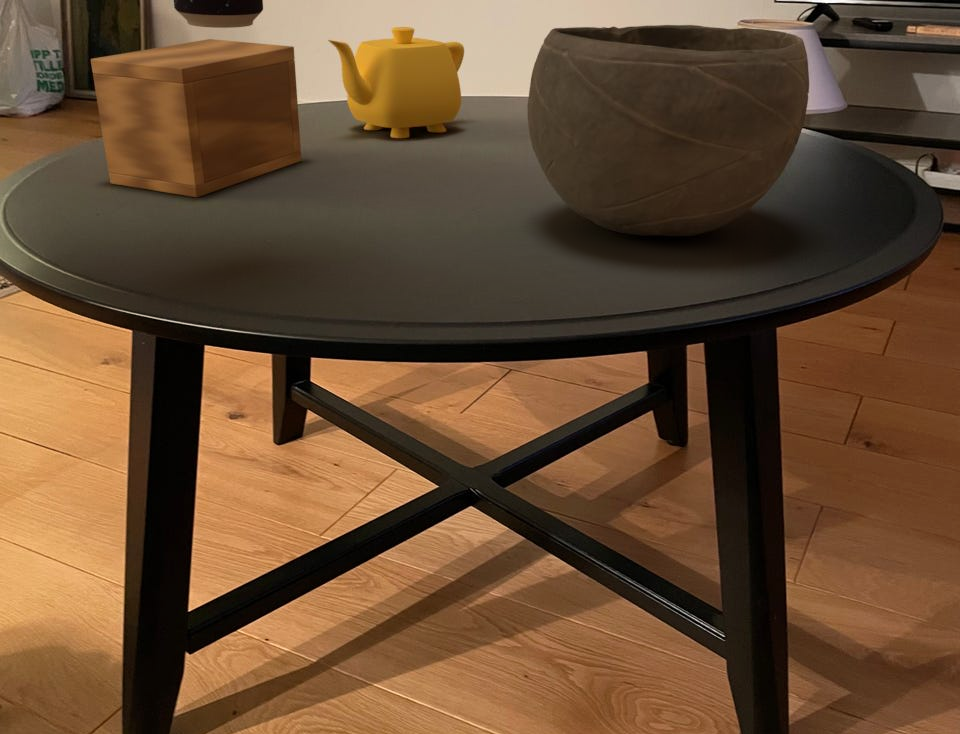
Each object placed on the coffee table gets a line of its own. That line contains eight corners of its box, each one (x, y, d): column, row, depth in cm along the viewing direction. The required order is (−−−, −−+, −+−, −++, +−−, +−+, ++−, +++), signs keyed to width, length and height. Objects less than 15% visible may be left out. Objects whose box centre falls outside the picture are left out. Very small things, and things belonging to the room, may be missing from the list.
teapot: (361, 149, 108) (357, 39, 102) (306, 131, 115) (299, 28, 110) (492, 128, 118) (494, 27, 113) (433, 113, 125) (432, 18, 120)
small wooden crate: (110, 183, 94) (90, 58, 88) (221, 149, 106) (209, 38, 101) (197, 197, 90) (181, 68, 85) (301, 161, 103) (294, 46, 97)
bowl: (835, 232, 84) (872, 35, 77) (670, 287, 71) (696, 58, 64) (638, 182, 97) (654, 10, 90) (472, 221, 85) (474, 25, 78)
